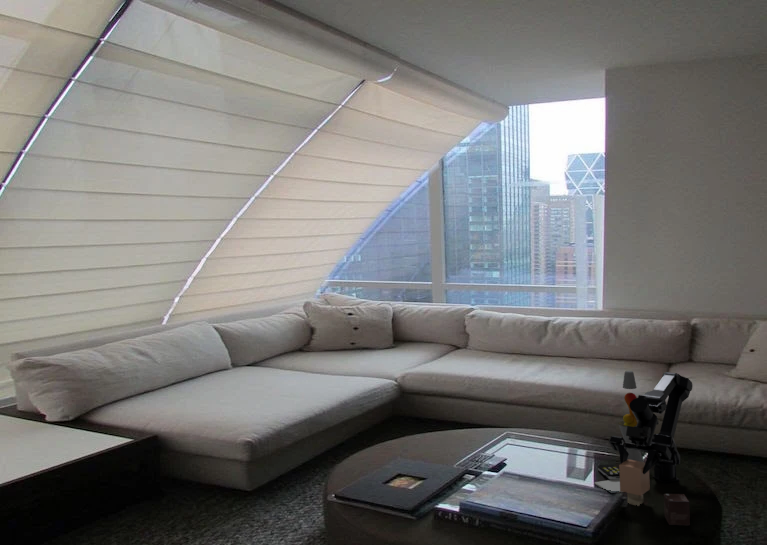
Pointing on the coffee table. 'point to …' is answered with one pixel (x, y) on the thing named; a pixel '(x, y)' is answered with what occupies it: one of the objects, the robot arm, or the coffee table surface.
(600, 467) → the remote control
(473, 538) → the coffee table surface
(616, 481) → the mat
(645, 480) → the tan block
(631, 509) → the coffee table surface
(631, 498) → the marked cube
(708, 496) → the coffee table surface
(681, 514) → the box
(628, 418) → the lava lamp
